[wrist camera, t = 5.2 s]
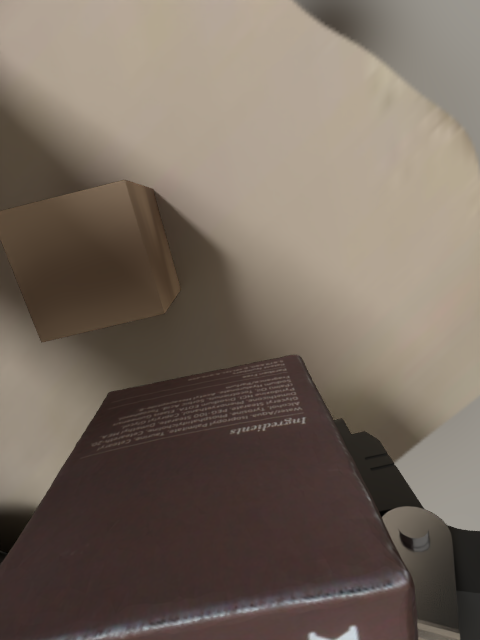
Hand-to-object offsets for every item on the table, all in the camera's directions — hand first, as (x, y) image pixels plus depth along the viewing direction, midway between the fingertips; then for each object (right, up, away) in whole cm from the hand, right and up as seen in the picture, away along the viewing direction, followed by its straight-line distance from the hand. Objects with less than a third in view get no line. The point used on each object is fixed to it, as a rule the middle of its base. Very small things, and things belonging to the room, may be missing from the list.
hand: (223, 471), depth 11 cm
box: (0, 0, +1) cm, 1 cm away
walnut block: (-6, +8, +8) cm, 12 cm away
